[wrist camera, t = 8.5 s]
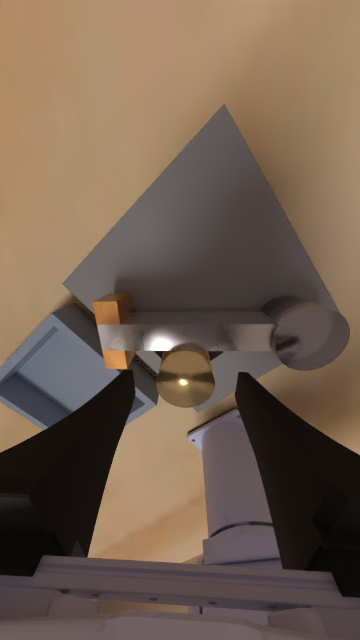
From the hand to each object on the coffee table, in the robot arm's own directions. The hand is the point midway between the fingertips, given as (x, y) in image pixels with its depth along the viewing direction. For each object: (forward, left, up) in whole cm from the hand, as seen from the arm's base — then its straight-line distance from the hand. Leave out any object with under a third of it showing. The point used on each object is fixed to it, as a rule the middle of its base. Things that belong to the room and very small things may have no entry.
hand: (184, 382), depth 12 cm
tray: (+4, +12, -6) cm, 14 cm away
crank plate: (+2, -4, -6) cm, 8 cm away
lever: (+1, -4, -4) cm, 5 cm away
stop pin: (0, 0, -6) cm, 6 cm away
